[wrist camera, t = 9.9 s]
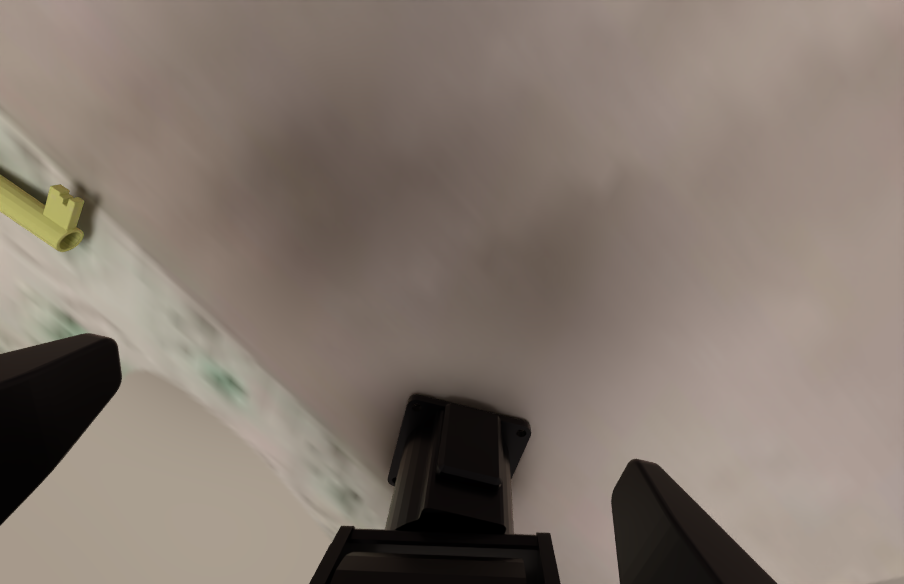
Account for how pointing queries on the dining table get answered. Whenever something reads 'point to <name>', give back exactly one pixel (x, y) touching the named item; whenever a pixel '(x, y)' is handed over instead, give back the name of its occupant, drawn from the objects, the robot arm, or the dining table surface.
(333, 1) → the dining table surface
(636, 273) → the dining table surface
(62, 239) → the key
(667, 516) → the robot arm
